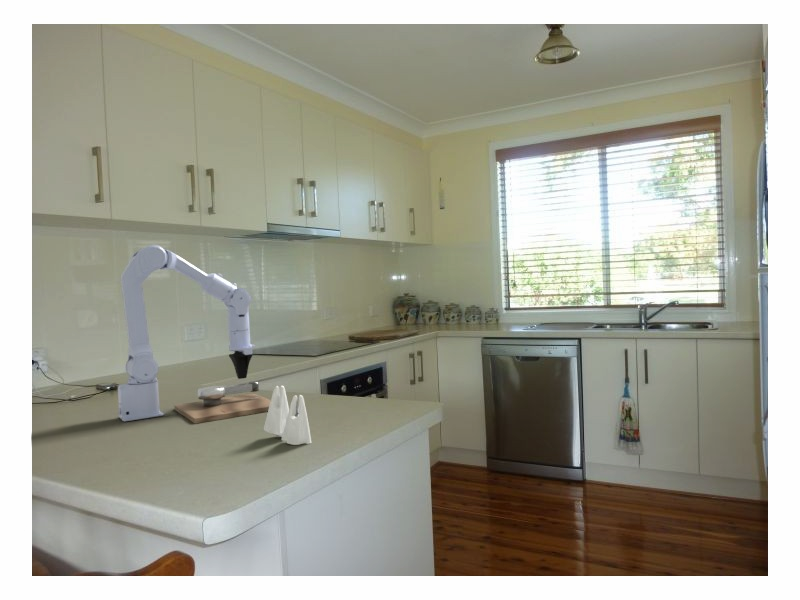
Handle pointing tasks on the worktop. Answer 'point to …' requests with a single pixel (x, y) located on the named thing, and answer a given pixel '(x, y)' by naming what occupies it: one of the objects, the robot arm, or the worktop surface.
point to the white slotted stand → (288, 418)
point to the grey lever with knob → (226, 390)
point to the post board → (223, 408)
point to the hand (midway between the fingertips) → (242, 378)
